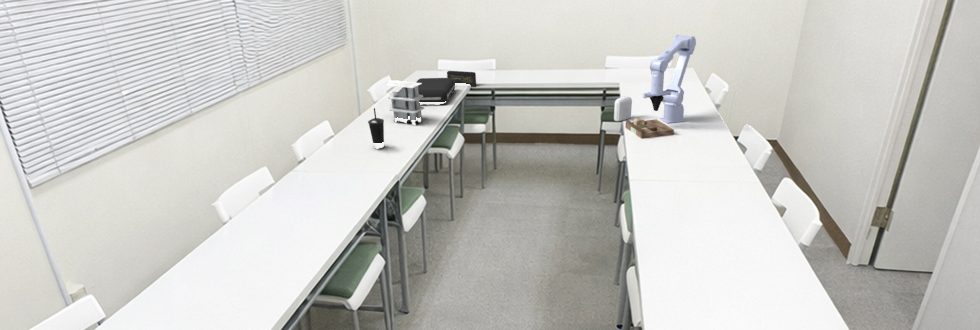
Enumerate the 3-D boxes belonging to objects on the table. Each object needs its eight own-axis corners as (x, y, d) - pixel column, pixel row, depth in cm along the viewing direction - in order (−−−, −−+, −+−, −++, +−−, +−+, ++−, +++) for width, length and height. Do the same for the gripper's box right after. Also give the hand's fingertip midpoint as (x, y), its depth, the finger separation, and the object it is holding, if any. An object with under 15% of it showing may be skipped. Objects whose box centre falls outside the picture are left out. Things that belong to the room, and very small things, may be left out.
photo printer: (626, 116, 311) (627, 94, 306) (632, 118, 307) (633, 95, 303) (612, 120, 305) (613, 97, 301) (618, 122, 302) (619, 99, 297)
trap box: (656, 123, 296) (656, 116, 295) (673, 134, 280) (674, 126, 278) (625, 127, 293) (625, 120, 292) (641, 138, 277) (641, 130, 275)
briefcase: (409, 92, 383) (408, 77, 379) (456, 91, 379) (455, 76, 376) (396, 107, 349) (394, 91, 346) (447, 106, 346) (445, 90, 342)
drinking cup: (389, 145, 284) (385, 106, 276) (382, 150, 277) (377, 110, 270) (376, 144, 286) (371, 105, 279) (368, 149, 280) (363, 110, 272)
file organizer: (420, 131, 303) (416, 91, 295) (365, 126, 316) (360, 87, 308) (443, 117, 324) (440, 80, 316) (391, 112, 338) (387, 76, 330)
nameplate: (447, 85, 395) (446, 71, 391) (449, 84, 396) (448, 70, 392) (475, 87, 386) (474, 72, 382) (476, 86, 388) (475, 72, 384)
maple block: (641, 125, 287) (641, 117, 286) (644, 127, 284) (644, 120, 282) (633, 125, 287) (634, 118, 286) (636, 128, 283) (636, 120, 282)
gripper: (666, 80, 287) (664, 106, 292) (640, 83, 284) (638, 109, 289) (673, 83, 280) (672, 110, 286) (647, 86, 277) (645, 113, 283)
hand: (655, 110), depth 287 cm, fingers closed
